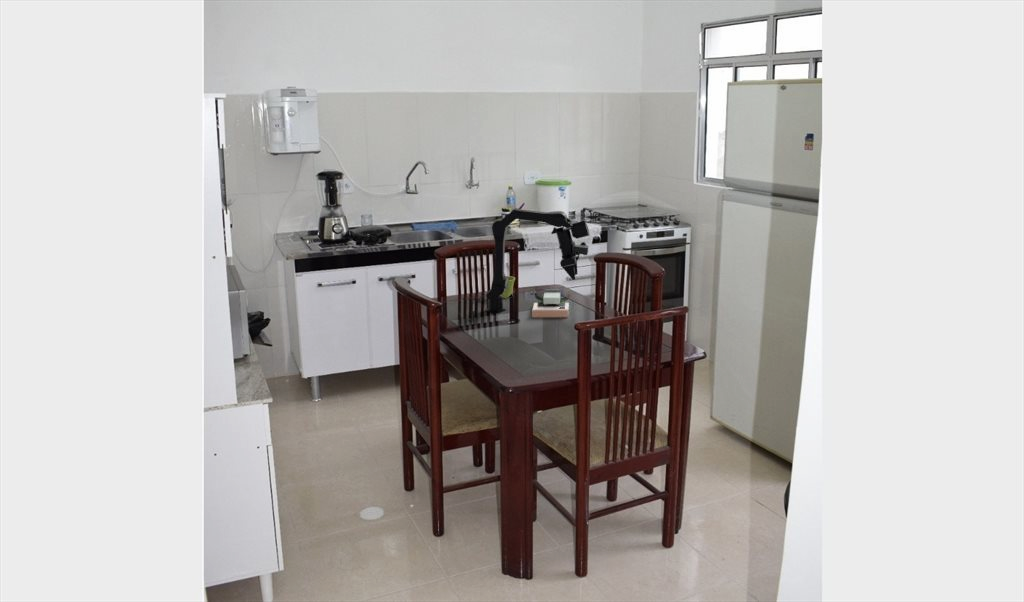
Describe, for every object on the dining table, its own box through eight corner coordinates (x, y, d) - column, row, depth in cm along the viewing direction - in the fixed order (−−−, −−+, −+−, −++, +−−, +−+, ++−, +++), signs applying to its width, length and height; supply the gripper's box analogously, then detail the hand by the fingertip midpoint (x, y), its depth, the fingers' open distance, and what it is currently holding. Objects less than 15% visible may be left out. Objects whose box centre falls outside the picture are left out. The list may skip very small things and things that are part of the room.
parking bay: (534, 307, 343) (534, 300, 342) (568, 307, 341) (568, 300, 341) (532, 317, 328) (531, 310, 327) (568, 317, 327) (567, 310, 326)
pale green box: (544, 300, 353) (544, 289, 352) (560, 300, 352) (560, 289, 351) (543, 306, 343) (543, 295, 342) (559, 306, 343) (559, 295, 341)
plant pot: (515, 299, 357) (515, 280, 354) (494, 299, 357) (494, 281, 355) (515, 293, 366) (515, 275, 363) (495, 294, 366) (494, 276, 364)
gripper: (582, 241, 315) (592, 278, 318) (586, 232, 333) (595, 267, 336) (555, 247, 318) (565, 284, 321) (561, 238, 335) (570, 273, 339)
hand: (575, 277), depth 329 cm, fingers open, 9 cm apart
